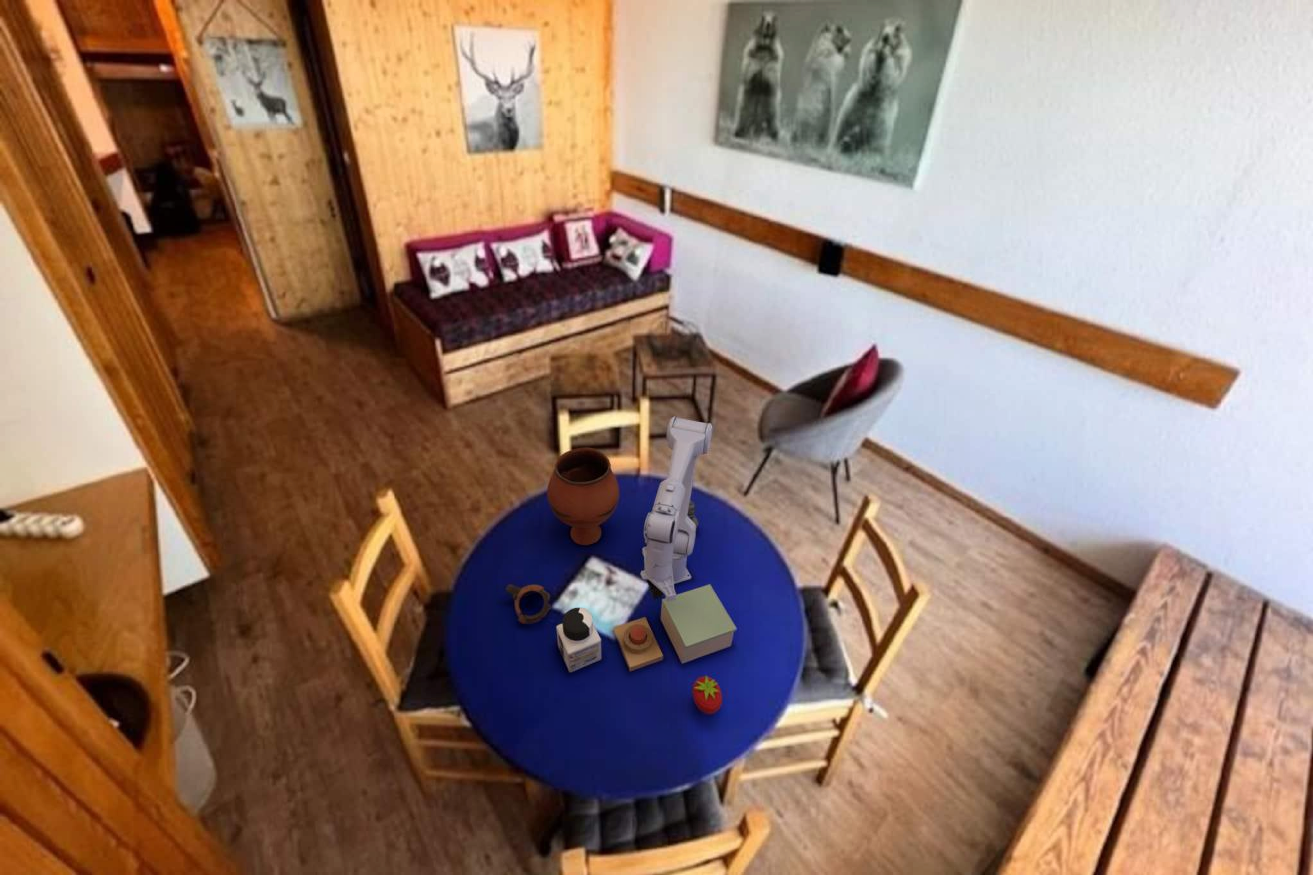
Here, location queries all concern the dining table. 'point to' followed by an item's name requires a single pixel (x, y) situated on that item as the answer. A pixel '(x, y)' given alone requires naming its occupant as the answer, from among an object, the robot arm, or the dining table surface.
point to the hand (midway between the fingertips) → (656, 596)
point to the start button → (637, 635)
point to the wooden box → (698, 649)
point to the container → (578, 639)
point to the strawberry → (707, 695)
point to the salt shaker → (692, 513)
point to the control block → (637, 645)
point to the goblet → (583, 492)
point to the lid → (699, 616)
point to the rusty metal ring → (526, 590)
